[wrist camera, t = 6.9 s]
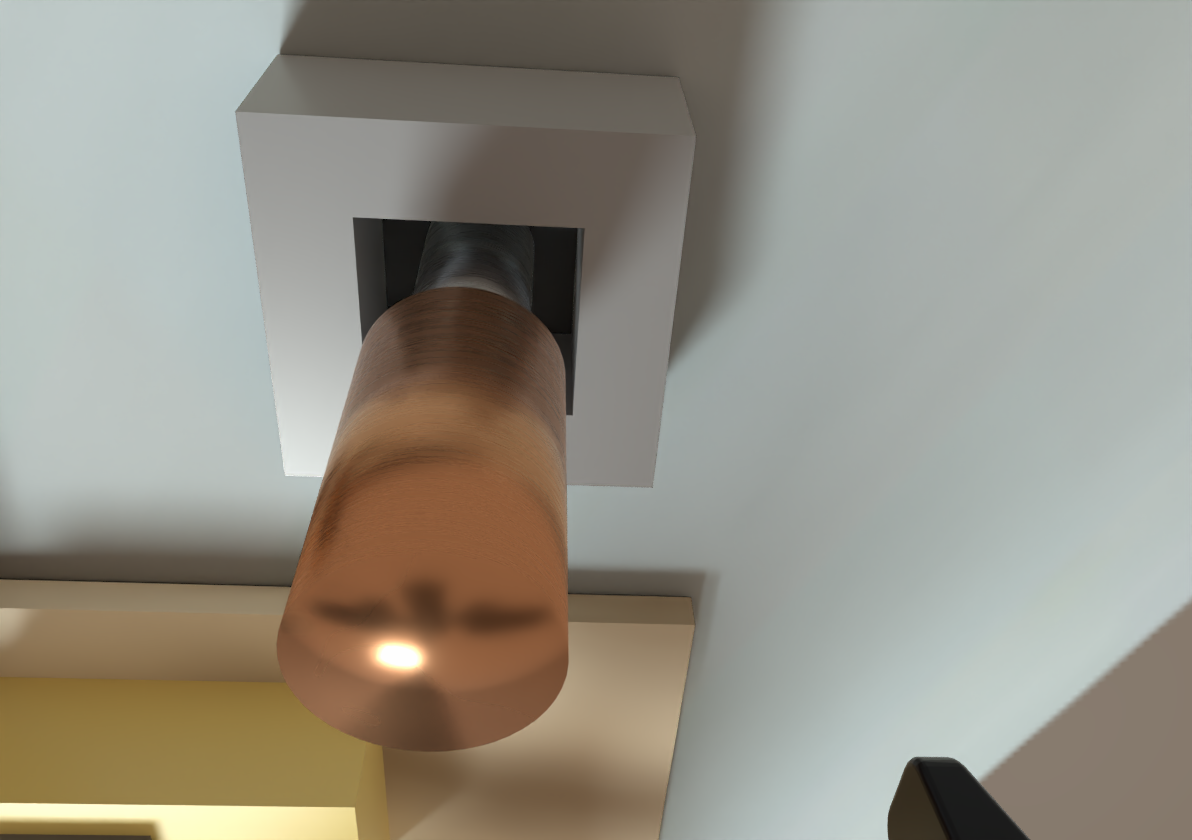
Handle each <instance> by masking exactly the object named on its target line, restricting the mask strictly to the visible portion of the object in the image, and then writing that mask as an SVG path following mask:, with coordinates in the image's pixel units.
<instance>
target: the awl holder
mask: <svg viewBox="0 0 1192 840" xmlns="http://www.w3.org/2000/svg"><path fill="white" fill-rule="evenodd" d="M235 113H236V120H237V128H238V135H239V142H240V150H241V157H242V164H243V172H244V179H245V186H246V194H247V201H248V208H249V216H250V223H251V230H252V238H253V245H254V252H255V260H256V267H257V274H258V282H259V289H260V296H261V304H262V311H263V318H264V326H265V333H266V340H267V348H268V355H269V363H270V370H271V377H272V385H273V392H274V399H275V407H276V414H277V421H278V429H279V436H280V443H281V451H282V458H283V465H284V473H285V476H313V477H323V476H324V473H325V470H326V466H327V463H328V459H329V456H330V453H331V449H332V446H333V442H334V439H335V435H336V432H337V429H338V425H339V422H340V418H341V415H342V412H343V408H344V405H345V401H346V398H347V394H348V391H349V388H350V384H351V381H352V377H353V374H354V371H355V367H356V364H357V360H358V357H359V353H360V350H361V347H362V344H363V341H364V339H365V337H366V335H367V333H368V331H369V330H370V328H371V327H372V325H373V324H374V323H375V321H376V320H377V319H378V318H379V317H380V316H381V315H382V314H383V313H384V312H385V311H386V310H387V297H386V279H385V262H384V244H383V227H382V219H400V220H421V221H441V222H462V223H483V224H504V225H525V226H546V227H567V228H577V243H576V260H575V277H574V293H573V310H572V327H571V334H560V333H551V334H552V335H553V337H554V339H555V340H556V342H557V344H558V346H559V348H560V351H561V354H562V357H563V361H564V366H565V380H566V469H567V485H589V486H620V487H651V488H653V480H654V472H655V464H656V456H657V448H658V440H659V432H660V424H661V416H662V408H663V400H664V392H665V384H666V376H667V368H668V360H669V352H670V344H671V335H672V327H673V319H674V311H675V303H676V295H677V287H678V279H679V271H680V263H681V255H682V247H683V239H684V231H685V223H686V215H687V207H688V199H689V191H690V183H691V175H692V167H693V159H694V151H695V143H696V134H695V130H694V127H693V124H692V120H691V117H690V114H689V110H688V107H687V103H686V100H685V97H684V93H683V90H682V87H681V83H680V80H679V77H665V76H648V75H630V74H613V73H595V72H578V71H560V70H543V69H525V68H508V67H490V66H473V65H455V64H437V63H420V62H402V61H385V60H367V59H350V58H332V57H315V56H297V55H280V54H278V55H277V56H276V57H275V59H274V60H273V61H272V63H271V64H270V65H269V67H268V68H267V69H266V71H265V72H264V74H263V75H262V76H261V78H260V79H259V80H258V82H257V83H256V84H255V86H254V87H253V88H252V90H251V91H250V92H249V94H248V95H247V96H246V98H245V99H244V101H243V102H242V103H241V105H240V106H239V107H238V109H237V110H236V111H235Z"/></svg>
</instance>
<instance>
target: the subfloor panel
mask: <svg viewBox="0 0 1192 840" xmlns="http://www.w3.org/2000/svg"><path fill="white" fill-rule="evenodd" d="M290 589H291V587H273V586H235V585H196V584H158V583H119V582H81V581H43V580H4V579H0V677H29V678H79V679H129V680H180V681H230V682H280V683H286V681H285V679H284V677H283V675H282V672H281V670H280V666H279V662H278V658H277V646H276V644H277V636H278V630H279V627H280V623H281V620H282V617H283V613H284V610H285V606H286V603H287V600H288V596H289V593H290ZM694 628H695V621H694V614H693V607H692V600H691V597H658V596H619V595H581V594H568V648H569V665H568V671H567V676H566V679H565V682H564V685H563V687H562V689H561V691H560V693H559V695H558V696H557V698H556V700H555V701H554V702H553V703H552V705H551V706H550V707H549V708H548V709H547V711H545V712H544V713H543V714H542V715H541V716H540V717H539V718H538V719H537V720H535V721H534V722H532V723H531V724H530V725H528V726H527V727H525V728H524V729H522V730H520V731H518V732H516V733H514V734H512V735H511V736H508V737H506V738H503V739H501V740H498V741H496V742H492V743H489V744H486V745H482V746H479V747H473V748H468V749H463V750H454V751H444V752H421V751H408V750H401V749H393V748H389V747H384V746H382V751H383V762H384V774H385V786H386V798H387V810H388V821H389V833H390V840H658V838H659V832H660V826H661V820H662V815H663V809H664V803H665V797H666V791H667V786H668V780H669V774H670V768H671V762H672V756H673V751H674V745H675V739H676V733H677V727H678V721H679V716H680V710H681V704H682V698H683V692H684V687H685V681H686V675H687V669H688V663H689V657H690V652H691V646H692V640H693V634H694Z"/></svg>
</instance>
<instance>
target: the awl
mask: <svg viewBox="0 0 1192 840" xmlns="http://www.w3.org/2000/svg"><path fill="white" fill-rule="evenodd" d="M533 268H534V240H533V236H532V233H531V230H530V228H529V226H525V225H504V224H483V223H462V222H441V221H432V222H431V224H430V226H429V229H428V232H427V236H426V240H425V244H424V249H423V253H422V257H421V262H420V266H419V270H418V274H417V279H416V283H415V287H414V291H413V295H411V296H409V297H407V298H405V299H403V300H401V301H399V302H398V303H396V304H394V305H393V306H392V307H390V308H389V309H388V310H386V311H385V312H384V313H383V314H382V315H381V316H380V317H379V318H378V319H377V320H376V321H375V323H374V324H373V325H372V327H371V328H370V330H369V331H368V333H367V335H366V337H365V339H364V341H363V344H362V347H361V350H360V353H359V357H358V360H357V364H356V367H355V371H354V374H353V377H352V381H351V384H350V388H349V391H348V394H347V398H346V401H345V405H344V408H343V412H342V415H341V418H340V422H339V425H338V429H337V432H336V435H335V439H334V442H333V446H332V449H331V453H330V456H329V459H328V463H327V466H326V470H325V473H324V476H323V480H322V483H321V487H320V490H319V494H318V497H317V500H316V504H315V507H314V511H313V514H312V517H311V521H310V524H309V528H308V531H307V535H306V538H305V541H304V545H303V548H302V552H301V555H300V558H299V562H298V565H297V569H296V572H295V576H294V579H293V582H292V586H291V589H290V593H289V596H288V600H287V603H286V606H285V610H284V613H283V617H282V620H281V623H280V627H279V630H278V636H277V644H276V646H277V658H278V662H279V666H280V670H281V672H282V675H283V677H284V679H285V681H286V683H287V685H288V686H289V688H290V689H291V691H292V692H293V694H294V695H295V696H296V697H297V698H298V700H299V701H300V702H301V703H302V704H303V705H304V706H305V707H306V708H307V709H308V710H310V711H311V712H312V713H313V714H314V715H315V716H317V717H318V718H320V719H321V720H323V721H324V722H326V723H327V724H328V725H330V726H332V727H334V728H336V729H338V730H339V731H341V732H343V733H345V734H348V735H350V736H353V737H355V738H357V739H360V740H363V741H366V742H369V743H372V744H376V745H380V746H384V747H389V748H393V749H401V750H408V751H421V752H444V751H454V750H463V749H468V748H473V747H479V746H482V745H486V744H489V743H492V742H496V741H498V740H501V739H503V738H506V737H508V736H511V735H512V734H514V733H516V732H518V731H520V730H522V729H524V728H525V727H527V726H528V725H530V724H531V723H532V722H534V721H535V720H537V719H538V718H539V717H540V716H541V715H542V714H543V713H544V712H545V711H547V709H548V708H549V707H550V706H551V705H552V703H553V702H554V701H555V700H556V698H557V696H558V695H559V693H560V691H561V689H562V687H563V685H564V682H565V679H566V676H567V671H568V665H569V648H568V559H567V469H566V380H565V366H564V361H563V357H562V354H561V351H560V348H559V346H558V344H557V342H556V340H555V339H554V337H553V335H552V334H551V333H550V331H549V330H548V328H547V327H546V326H545V325H544V324H543V323H542V322H541V321H540V319H539V318H538V317H536V316H535V315H534V314H533V313H532V292H533Z"/></svg>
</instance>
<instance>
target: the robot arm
mask: <svg viewBox="0 0 1192 840" xmlns="http://www.w3.org/2000/svg"><path fill="white" fill-rule="evenodd" d="M887 826H888V839H889V840H1030V839H1029V838H1028V837H1027V836H1026V835H1025V833H1024V832H1023V831H1022V830H1021V829H1020V828H1019V827H1018V826H1017V825H1016V823H1015V822H1014V821H1013V820H1012V819H1011V818H1010V817H1009V815H1008V814H1007V813H1006V812H1005V811H1004V810H1003V809H1002V808H1001V806H1000V805H999V804H998V803H997V802H996V801H995V800H994V799H993V798H992V796H991V795H990V794H989V793H988V792H987V791H986V790H985V789H984V787H983V786H982V785H981V784H980V783H979V782H978V781H977V780H976V778H975V777H974V776H973V775H972V774H971V773H970V772H969V771H968V769H967V768H966V767H965V766H964V765H963V764H961V763H960V762H959V761H957V760H955V759H953V758H949V757H914V758H912V759H911V760H910V761H909V762H908V763H907V765H906V767H905V769H904V772H903V774H902V777H901V780H900V782H899V785H898V788H897V790H896V793H895V796H894V798H893V801H892V803H891V806H890V809H889V813H888V825H887Z"/></svg>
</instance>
